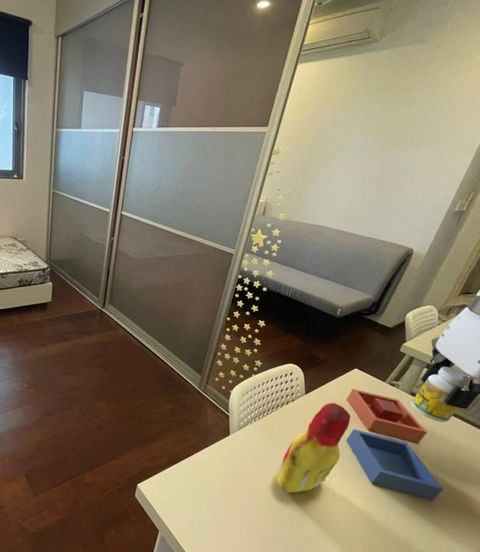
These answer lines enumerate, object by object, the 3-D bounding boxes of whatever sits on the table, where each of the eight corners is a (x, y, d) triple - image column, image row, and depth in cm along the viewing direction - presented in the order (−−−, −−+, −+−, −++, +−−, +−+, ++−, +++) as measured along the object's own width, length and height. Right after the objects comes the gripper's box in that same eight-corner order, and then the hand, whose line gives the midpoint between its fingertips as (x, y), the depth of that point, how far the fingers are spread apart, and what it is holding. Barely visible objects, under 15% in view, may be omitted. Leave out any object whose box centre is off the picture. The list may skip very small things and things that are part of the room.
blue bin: (399, 453, 72) (407, 442, 70) (433, 500, 63) (443, 489, 61) (346, 439, 74) (353, 428, 73) (371, 483, 65) (380, 471, 63)
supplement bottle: (453, 427, 60) (485, 388, 56) (416, 414, 62) (444, 376, 58) (440, 408, 64) (468, 371, 60) (405, 397, 66) (431, 360, 62)
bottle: (289, 506, 59) (336, 429, 50) (260, 474, 64) (298, 400, 56) (330, 486, 63) (379, 412, 55) (299, 457, 68) (340, 386, 60)
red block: (385, 413, 82) (393, 402, 81) (394, 425, 79) (403, 414, 77) (367, 409, 83) (375, 397, 81) (376, 421, 80) (384, 409, 78)
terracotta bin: (391, 409, 85) (398, 399, 83) (418, 443, 75) (427, 432, 74) (346, 398, 87) (352, 388, 85) (367, 430, 77) (375, 419, 76)
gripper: (591, 347, 45) (507, 436, 53) (485, 295, 60) (432, 370, 68) (525, 334, 47) (453, 423, 54) (439, 287, 62) (392, 361, 69)
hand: (442, 393), depth 61 cm, fingers closed on supplement bottle, 5 cm apart
